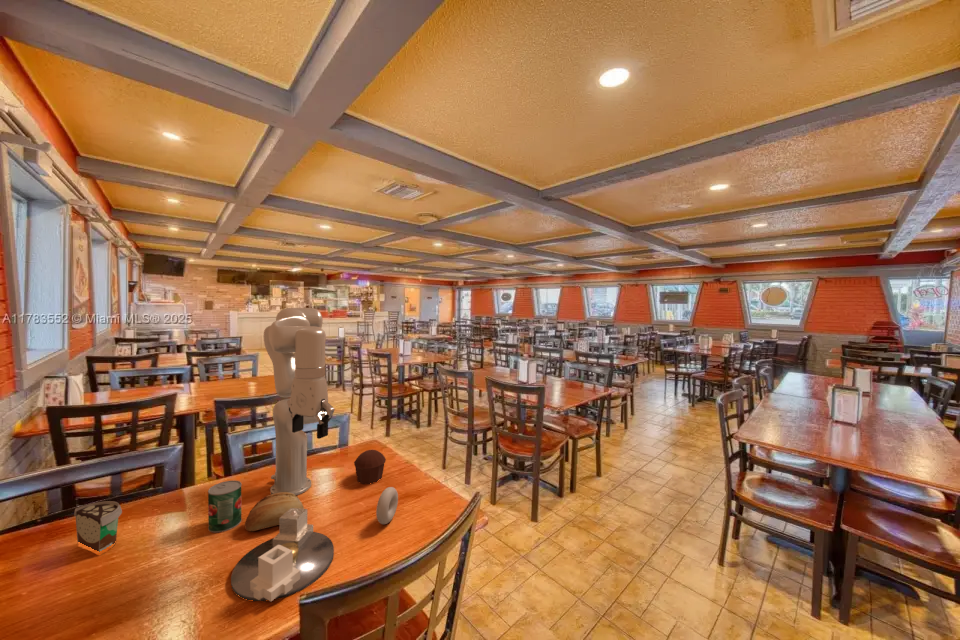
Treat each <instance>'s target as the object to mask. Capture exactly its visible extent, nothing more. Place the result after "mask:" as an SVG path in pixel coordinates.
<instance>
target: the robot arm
mask: <svg viewBox="0 0 960 640" xmlns="http://www.w3.org/2000/svg"><path fill="white" fill-rule="evenodd" d="M322 327H323V315H322V313H321V311H320V310H319V309H317V308H313V307H287V308H284V309H281V310H280V311H279V312H278V313H277V315H276V317H275V321H273V322H272V323H271V325H269V326H267V327H266V328H265V329H264V331H263V344H264V347H265V350H266V352H267V355H268V357H269V358H270V361H271V363H272V369H273V379H274V386H275V387H274V388H275V392H276V394H277V396H279V397H280V398H284V399H281V400H279V401H277V402H276V403H275V404H274V405H273V407H272V418H273V419H272V420H273V424H274V431H275V432H274V433H275V471H274V474H272V475H271V476H270V478H271V480H274V484H272V486H271V487H270V488H269V489H270V495H271V494H275V493H280V492H289V493H292V494H294V495H295V496H298V495H301V494H303V493H305V492H306V491H308V490H309V489H310V488H311V486H312V480H311V478H309V477H307V476H308V474H307V469H308V468H307V467H308V466H307V462H308V460H307V459H308V458H307V457H308V455H307V454H308V450H307V447H308V445H307V444H308V439H307V434H306V433H305V432H304V426H305V425H308V424H315V423H317V424H316V438H317V439H318V440H319V439H323V438H324V437H327V436H329V435H328V434H329V422H331V419H333V416H334V412H335V409H336V408H335V407H334V406H332V404H331V403H330V402H329V393H328V390H329V389H328V385H327V384H328V383H327V379H326V342H327V337H326V332H325V331H324V330H323V328H322Z"/></svg>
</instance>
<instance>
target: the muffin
mask: <svg viewBox="0 0 960 640" xmlns="http://www.w3.org/2000/svg"><path fill="white" fill-rule="evenodd" d="M386 461H387V459H386V457H385V456H384V454H383V453H382V452H380V451H379V450H376V449H368V450H365V451H363V452H362V453H360V454H359V455H358V456H357V458H356V459H354V462H353V464H354V467H355V473H356V480H357V483H359V482H360V484H361V483H362V484H361V485H371V484H370V483H372V484H374V483H373V482H377V481H378V480H379V479H381V478H382V479H383V474H384V468H385V463H386ZM382 479H381V480H382ZM379 481H380V480H379ZM379 481H378V482H379ZM378 482H377V483H378Z"/></svg>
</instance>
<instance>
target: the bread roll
mask: <svg viewBox="0 0 960 640" xmlns="http://www.w3.org/2000/svg"><path fill="white" fill-rule="evenodd" d="M290 508H299V509H305V507H304V505H303V502H302V501H301V500H300V498H299V497H298V495H294V494H292V493H289V492H280V493H275V494H271V493H270V494H268V495H266V496H264V497H262V498H261V499H260V500H259V501H257V502H256V503H255V505H253V507H252V508H251V509H250V510H249V513H248V516H247V517H246V520H245V521H244V527H245V530H246V531H248V532H255V531H260V530H263V529H268V528H272V527H276V526H279V518H280V517H281V516H282V515H284V514H285V513H286V512H287V511H288V510H289V509H290Z"/></svg>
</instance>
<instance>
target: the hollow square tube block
mask: <svg viewBox="0 0 960 640" xmlns="http://www.w3.org/2000/svg"><path fill="white" fill-rule="evenodd" d="M299 579H300V570H298V569H296V564H295V563H293V551H292V550H290V549H288V548H286V547H283V546H281V545H277V546H275V547H274V548H272V549H271V550H269V551H268V552H266V553H264V554H263V555H261V556H260V557H258V576H257V577H255V578H254V579H253V580H251V581H250V590H251V591H253V592H254V598H256V599H258V600H260V599H261V598H263V597H264V598H265V599H267V600H269V601H268V602H272V601H275V600H274V599H275V598H276V597H278V596H279V595H280V594H282V593H284V594H286V593H287V592H289V591H290V590H291V589H293V584H294V583H296V582H297V581H298V580H299Z"/></svg>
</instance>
